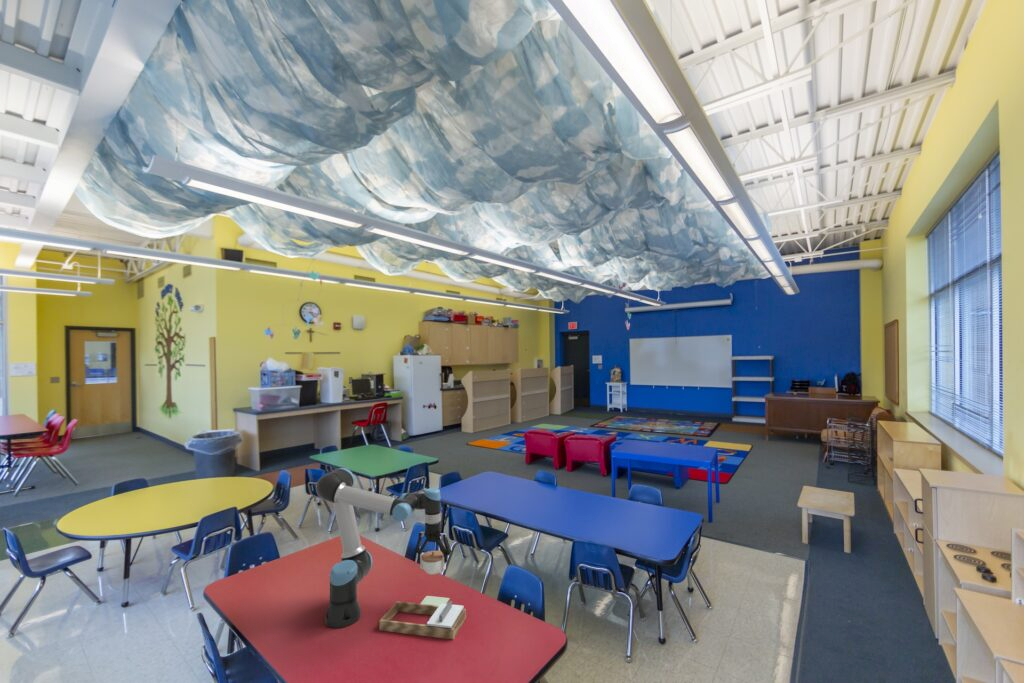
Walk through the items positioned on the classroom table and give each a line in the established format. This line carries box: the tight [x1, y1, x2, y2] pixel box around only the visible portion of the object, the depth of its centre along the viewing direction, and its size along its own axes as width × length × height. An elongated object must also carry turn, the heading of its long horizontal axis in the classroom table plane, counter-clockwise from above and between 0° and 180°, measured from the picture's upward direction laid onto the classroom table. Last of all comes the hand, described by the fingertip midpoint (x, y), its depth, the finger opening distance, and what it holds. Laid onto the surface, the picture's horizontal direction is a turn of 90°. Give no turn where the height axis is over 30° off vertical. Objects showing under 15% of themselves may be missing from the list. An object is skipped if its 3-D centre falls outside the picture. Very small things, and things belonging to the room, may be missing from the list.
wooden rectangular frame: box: [379, 600, 467, 640], centre depth 192 cm, size 34×16×4 cm, turn 78°
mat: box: [419, 595, 450, 606], centre depth 208 cm, size 12×12×1 cm
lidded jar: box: [422, 550, 443, 576], centre depth 209 cm, size 11×11×9 cm
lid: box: [426, 600, 465, 628], centre depth 190 cm, size 11×16×3 cm
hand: (433, 568), depth 209 cm, fingers closed on lidded jar, 11 cm apart
